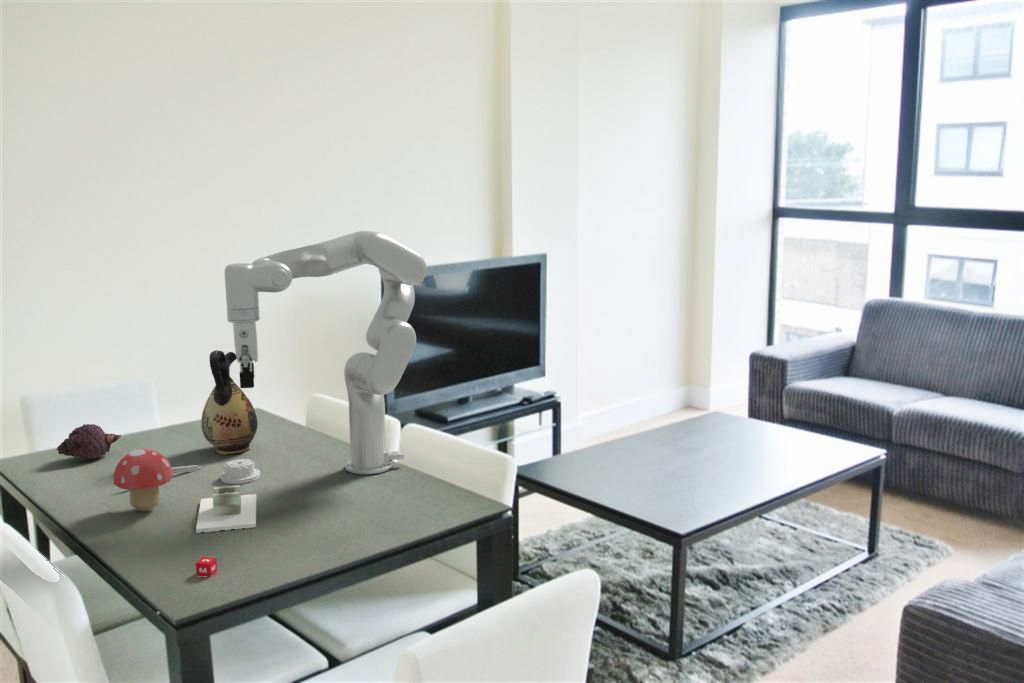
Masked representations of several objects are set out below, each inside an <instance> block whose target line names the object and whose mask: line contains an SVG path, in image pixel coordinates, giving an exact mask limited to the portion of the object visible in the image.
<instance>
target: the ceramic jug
mask: <svg viewBox="0 0 1024 683" xmlns="http://www.w3.org/2000/svg"><path fill="white" fill-rule="evenodd" d="M235 361H237V357H236V352H233V351H228V352H227V353H226V354H225V352H224V351H223V350H220V349H219V350H218V349H217V350H213V351H212V352H210V354H209V367H210V370H211V374H212V377H213V380H214V384H215V385H214V386H213V389H212V390H211V392H210V394H209V395H208V398H207V400H206V402H205V404H204V407H203V410H202V414H201V425H200V427H201V431H202V434H203V436H204V438H205V440H206V441H207V442H208V443H209V444H210V445H212V446H213V448H214V451H217V452H218V454H219V453H220V455H223V454H224V455H223V456H226V455H231V454H232V455H233V454H238V453H245V452H247V451H249V450H250V449H249V447H250V444H251V443H252V441H253V439H255V436H256V434H257V430H258V423H259V422H258V416H257V414H256V411H255V408H254V406H253V404H252V402H251V401H250V399H249V397H248V396H247V395H246V394H245V393H244V391H243V389H242V388H241V387H240V386H239V385H237V383H235V381H234V379H232V378H231V376H230V371H231V370H230V368H231V366H232V364H233V363H234V362H235ZM248 449H249V450H248ZM217 452H216V453H217Z"/></svg>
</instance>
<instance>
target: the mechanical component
mask: <svg viewBox="0 0 1024 683" xmlns="http://www.w3.org/2000/svg"><path fill="white" fill-rule="evenodd" d="M260 478H261V471H260V470H259V469H258V468H256V467H255V462H254V460H251V459H245V458H242V459H234V460H231V461H230V460H229V461H228V462H226V463H225V464H224V472H222V473H221V474H220V481H221V482H222V483H224V484H228V485H229V484H230V485H242V484H249V483H251V482H252V483H253V482H254V481H257V480H259V479H260ZM248 482H249V483H248Z"/></svg>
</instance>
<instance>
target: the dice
mask: <svg viewBox="0 0 1024 683" xmlns="http://www.w3.org/2000/svg"><path fill="white" fill-rule="evenodd" d="M217 559H218V558H217V557H209V556H208V557H207V556H202V557H200V558H199V560H198V561H196V562H195V571H196V574H195V575H196V577H197V576H207V577H206V578H209V577H211V576H212V575H213V574H214V573H215V572H216V571H217V572H218V562H217ZM217 572H216V573H217ZM216 573H215V574H216ZM215 574H214V575H215ZM214 575H213V576H214ZM213 576H212V577H213ZM212 577H211V578H212Z"/></svg>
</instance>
